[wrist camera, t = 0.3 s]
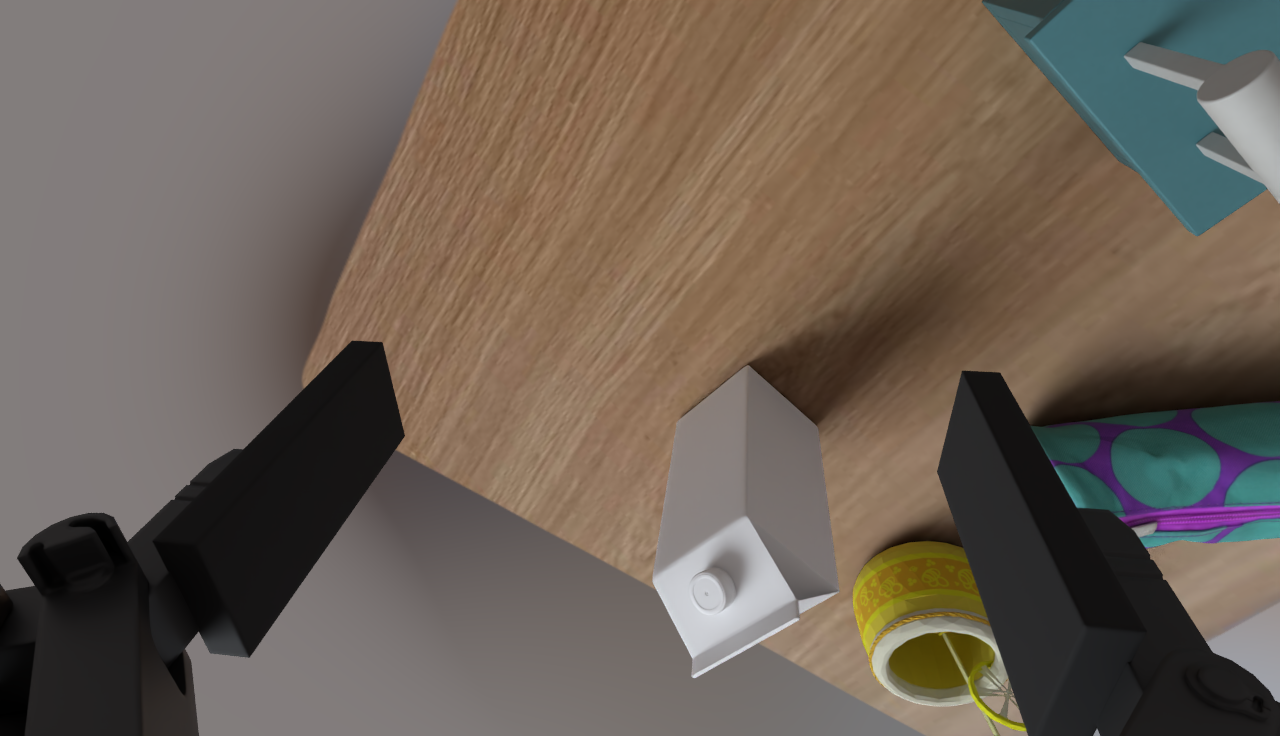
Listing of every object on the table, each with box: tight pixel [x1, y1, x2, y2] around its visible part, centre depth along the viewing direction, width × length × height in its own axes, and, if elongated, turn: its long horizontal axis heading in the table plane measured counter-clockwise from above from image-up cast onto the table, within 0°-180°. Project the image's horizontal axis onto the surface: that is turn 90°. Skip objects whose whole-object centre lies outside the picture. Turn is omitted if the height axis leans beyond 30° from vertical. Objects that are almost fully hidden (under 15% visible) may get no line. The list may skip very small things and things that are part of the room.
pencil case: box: [1031, 401, 1280, 548], centre depth 42 cm, size 21×9×10 cm, turn 104°
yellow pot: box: [853, 541, 1026, 736], centre depth 51 cm, size 13×11×12 cm
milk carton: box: [652, 365, 840, 678], centre depth 43 cm, size 7×7×19 cm
